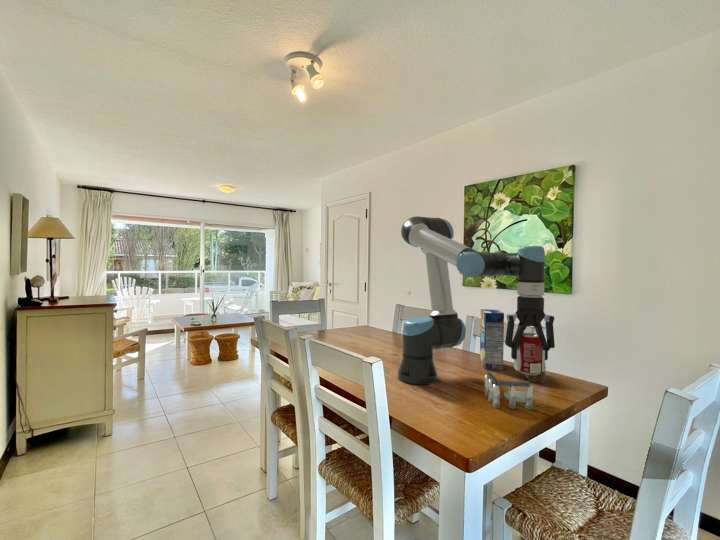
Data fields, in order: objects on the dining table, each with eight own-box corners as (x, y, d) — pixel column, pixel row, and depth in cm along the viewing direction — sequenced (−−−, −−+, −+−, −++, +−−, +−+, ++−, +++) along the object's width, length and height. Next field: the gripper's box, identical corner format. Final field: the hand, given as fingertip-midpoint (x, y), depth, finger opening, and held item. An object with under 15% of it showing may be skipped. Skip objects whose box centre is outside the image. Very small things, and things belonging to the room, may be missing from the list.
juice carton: (479, 361, 163) (480, 309, 162) (496, 362, 162) (497, 309, 161) (484, 369, 151) (485, 312, 151) (503, 370, 150) (504, 313, 149)
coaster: (509, 402, 115) (509, 400, 115) (500, 392, 124) (500, 390, 124) (537, 403, 115) (538, 401, 115) (526, 393, 124) (526, 390, 124)
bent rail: (493, 408, 111) (494, 381, 111) (483, 394, 122) (484, 371, 122) (533, 409, 110) (533, 383, 110) (519, 396, 121) (520, 372, 121)
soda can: (545, 376, 107) (546, 337, 107) (522, 376, 108) (523, 336, 107) (534, 369, 114) (535, 332, 114) (513, 369, 114) (514, 332, 114)
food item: (517, 371, 149) (517, 348, 149) (537, 372, 148) (538, 349, 147) (526, 382, 135) (527, 356, 135) (549, 383, 134) (549, 357, 134)
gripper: (502, 296, 107) (500, 372, 108) (569, 297, 106) (568, 374, 106) (494, 294, 115) (493, 365, 115) (557, 295, 113) (555, 367, 114)
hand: (529, 369), depth 111 cm, fingers closed on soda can, 7 cm apart
